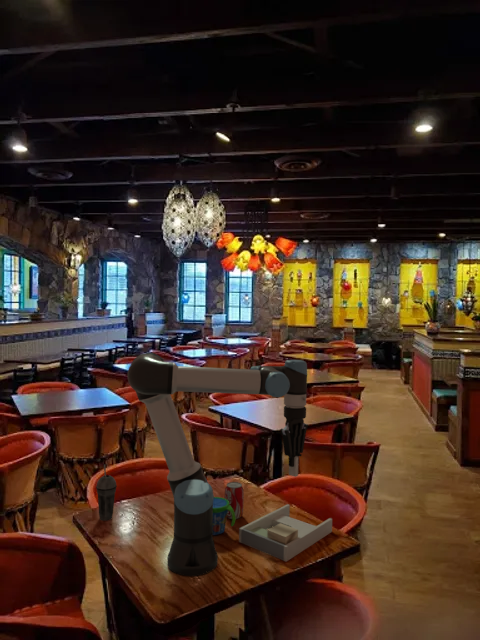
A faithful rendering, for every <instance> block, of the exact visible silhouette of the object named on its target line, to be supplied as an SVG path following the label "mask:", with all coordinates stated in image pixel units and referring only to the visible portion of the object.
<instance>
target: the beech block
mask: <svg viewBox="0 0 480 640" xmlns="http://www.w3.org/2000/svg"><path fill="white" fill-rule="evenodd" d="M267 530H268V533H267V538H269V539H272V540H274V541H277V542H279V543H282V544H285V545H286V544H288V543H290V542H291V541H293V540H295V539H296V538H298V529H295V528H292V527H289V526H287V525H284V524H281V523H280V524H278V525H276V526H274V527H270V528H268V529H267Z"/></svg>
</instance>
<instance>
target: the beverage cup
mask: <svg viewBox="0 0 480 640" xmlns="http://www.w3.org/2000/svg"><path fill="white" fill-rule="evenodd" d="M106 469H107V468H106V464H103V472H104V473H103V474H104V475H102V476H101V477H100V478H98V480H97V482H96V487H95V488H96V493H97V503H98V517H99V521H104V522H105V521H107V522H108V521H110V520H112V519H113V514H114V507H115V499H116V490H117V487H118V486H117V482H116V479H115V478H114V477H113V476H112V475H110V474H107V472H106V471H107V470H106Z"/></svg>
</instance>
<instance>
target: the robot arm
mask: <svg viewBox="0 0 480 640" xmlns="http://www.w3.org/2000/svg"><path fill="white" fill-rule="evenodd" d="M130 363H131V364H130V365H129V367H128V370H127V381H128V384H129V385H130V387H131V388H132V390H134V391H135V394H136V397H137V398H138V401H139V402H142V403H144V404H145V407H146V409H147V413H148V415H149V418H150V421H151V423H152V426H153V429H154V432H155V434H156V438H157V440H158V443H159V445H160V449H161V452H162V454H163V457H164V459H165V463H166V466H167V468H168V471H169V472H168V473H167V476H166V478H167V482H168V485H169V487H170V490H171V493H172V496H173V512H174V513H173V539H172V542H171V546H170V549H169V551H168V553H167V561H166V562H167V563H166V564H167V565H166V566H167V567H168V570H170V571H172V573H174V574H178V575H181V576H190V577H192V576H195V577H196V576H201V575H205V574H209V573H210V572H212V571H214V570H215V569H216V567H218V562H219V561H218V552H217V549H216V546H215V542H214V539H213V535H212V525H213V500H214V497H215V495H214V490H213V487H212V486H211V484H209V482H208V480H207V477H206V475H205V473H204V471H203V467H202V465H201V463H200V462H198V461H195V459H194V457H193V454H192V451H191V448H190V446H189V442H188V440H187V437H186V434H185V432H184V429H183V426H182V424H181V421H180V417H179V414H178V413H177V412H178V411H177V410H176V409H177V408H176V406H175V403H174V400H173V398H172V396H173V395H174V394H175V393H176V392H184V393H185V392H186V393H187V392H188V393H189V392H190V393H210V394H211V393H216V394H218V393H219V394H240V395H241V394H242V395H244V394H245V395H262V396H263V395H264V396H266V395H267V396H270V397H273V398H282V397H283V405H284V406H283V417H284V418H285V423H284V424H285V426H284V427H283V428H280V434H281V437H282V443H283V452H284V456H288V476H292V477H295V478H296V477H298V476H299V462H300V460H299V457H302V455H303V453H304V447H305V442H306V441H305V440H306V435H307V430H308V426H309V424H307V423H305V420H304V419H305V418H306V417H307V407H306V405H307V388H308V387H307V384H308V364H307V362H306V360H305V361H304V360H301V359H287V360H285V361H284V365H282V366H281V365H277V366H276V365H255V366H254V365H253V366H251V367H250V369H249V368H248V369H244V368H228V367H227V368H225V367H223V368H222V367H208V366H207V367H204V366H203V367H201V366H186V365H185V366H184V365H183V366H181V365H177V364H176V363H175V362H170V361H165V360H164V359H163V358H162V357H161V356H160V355H159V354H157V353H153V352H146V353H141V354H140V355H137V356H136V357H135V358H134V359H133V360H132V361H131V362H130Z"/></svg>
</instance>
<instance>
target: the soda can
mask: <svg viewBox="0 0 480 640" xmlns="http://www.w3.org/2000/svg"><path fill="white" fill-rule="evenodd" d="M244 494H245V493H244V488H243V484H242V483H241V482H238V481H230V482H227V483H226V486H225V488H224V498H225V499H227V500H228V501H229V505H230V506H231V507H232V508H233V510H234V513H235V520H238V519H240V518H241V517H243V513H244ZM227 519H229V520H232V516H231V512H230V511H228V512H227Z"/></svg>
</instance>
